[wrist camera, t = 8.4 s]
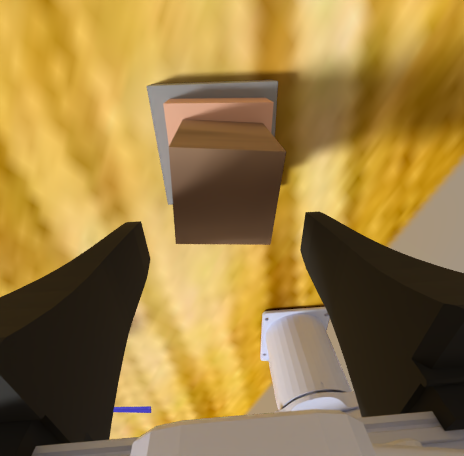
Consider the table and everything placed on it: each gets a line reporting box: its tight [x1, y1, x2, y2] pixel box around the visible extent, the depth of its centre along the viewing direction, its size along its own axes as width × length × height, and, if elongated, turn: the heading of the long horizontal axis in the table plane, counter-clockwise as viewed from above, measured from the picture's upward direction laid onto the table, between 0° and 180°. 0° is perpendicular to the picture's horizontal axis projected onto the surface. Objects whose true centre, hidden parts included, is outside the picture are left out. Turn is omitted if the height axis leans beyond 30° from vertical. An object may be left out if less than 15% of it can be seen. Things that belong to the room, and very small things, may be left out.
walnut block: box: [169, 119, 286, 245], centre depth 13 cm, size 4×4×6 cm
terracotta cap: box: [163, 98, 274, 145], centre depth 17 cm, size 6×6×2 cm
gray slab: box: [147, 80, 278, 205], centre depth 19 cm, size 8×8×2 cm
